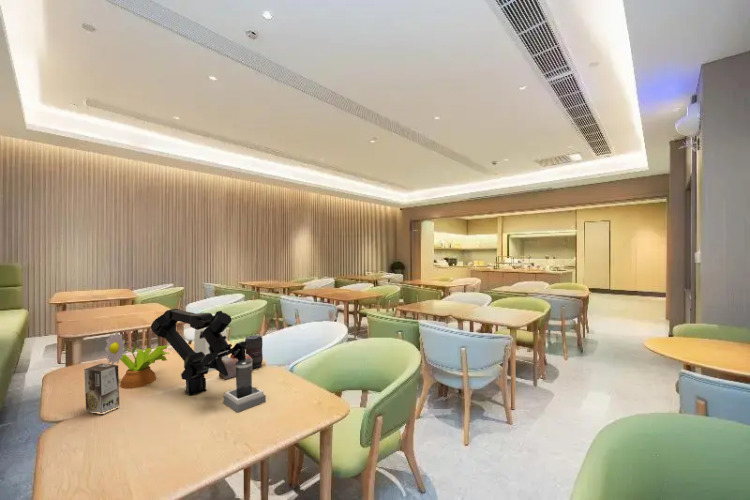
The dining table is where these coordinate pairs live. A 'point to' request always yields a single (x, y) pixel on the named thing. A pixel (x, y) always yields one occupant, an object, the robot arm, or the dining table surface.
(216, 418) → the dining table surface
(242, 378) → the dark tapered cup
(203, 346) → the milk
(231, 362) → the weathered brick
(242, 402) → the shallow square tray
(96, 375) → the coffee box
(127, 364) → the decorative plant
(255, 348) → the camera lens
